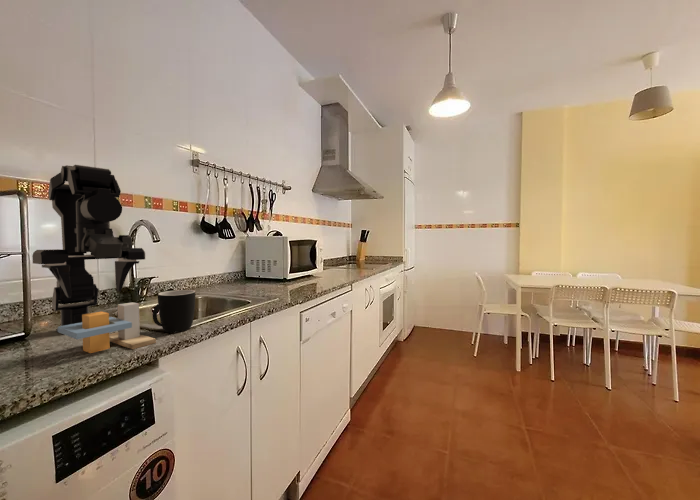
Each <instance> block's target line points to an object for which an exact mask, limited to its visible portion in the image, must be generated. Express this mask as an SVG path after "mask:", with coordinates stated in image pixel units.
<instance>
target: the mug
mask: <svg viewBox="0 0 700 500" xmlns="http://www.w3.org/2000/svg"><path fill="white" fill-rule="evenodd" d="M195 309H196V291H195V290H192V289H177V290H167V291H161V292H158V294H157V304H156V305H155V307H154V309H153V312H152V319H153V323H154V324H155V325H156V326H158V327H161V329H162V330H163V331H164V332H165V333H181V332H185V331H188V330H190V329H191V328H192V325H193V322H194V317H195V311H196V310H195ZM158 312H159V313H158ZM158 315H159V319H158ZM159 320H160V321H159Z"/></svg>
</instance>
